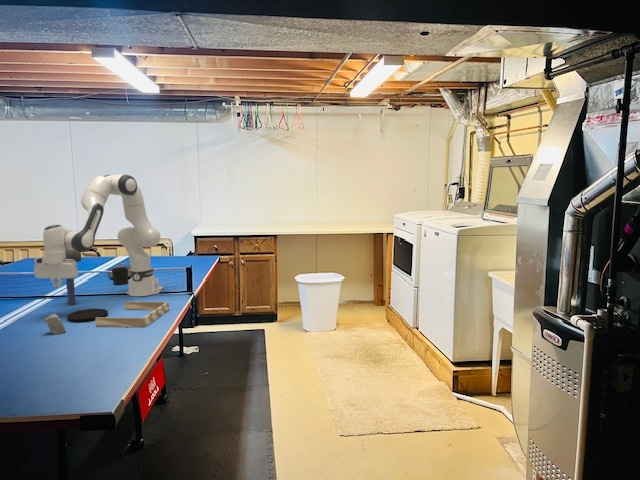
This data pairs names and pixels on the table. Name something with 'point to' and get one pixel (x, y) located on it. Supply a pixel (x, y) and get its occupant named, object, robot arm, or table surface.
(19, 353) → the table surface
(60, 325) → the mineral specimen
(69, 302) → the rubber mallet
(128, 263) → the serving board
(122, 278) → the pen holder
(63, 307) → the table surface
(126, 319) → the box
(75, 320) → the wireless charger
